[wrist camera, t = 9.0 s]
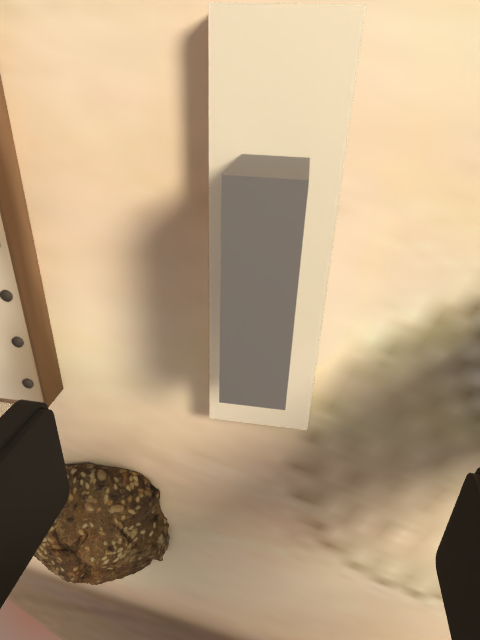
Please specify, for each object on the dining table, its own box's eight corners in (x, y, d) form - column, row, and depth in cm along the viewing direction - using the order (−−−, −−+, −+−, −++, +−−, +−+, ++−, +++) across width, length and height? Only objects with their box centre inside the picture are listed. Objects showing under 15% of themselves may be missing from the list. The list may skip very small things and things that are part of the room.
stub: (361, 10, 18) (385, -23, 12) (307, 412, 28) (306, 498, 22) (216, 7, 19) (173, -25, 13) (214, 401, 29) (189, 482, 23)
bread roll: (3, 458, 35) (-41, 512, 31) (148, 453, 32) (122, 511, 28) (62, 560, 41) (32, 617, 36) (189, 563, 38) (173, 625, 34)
